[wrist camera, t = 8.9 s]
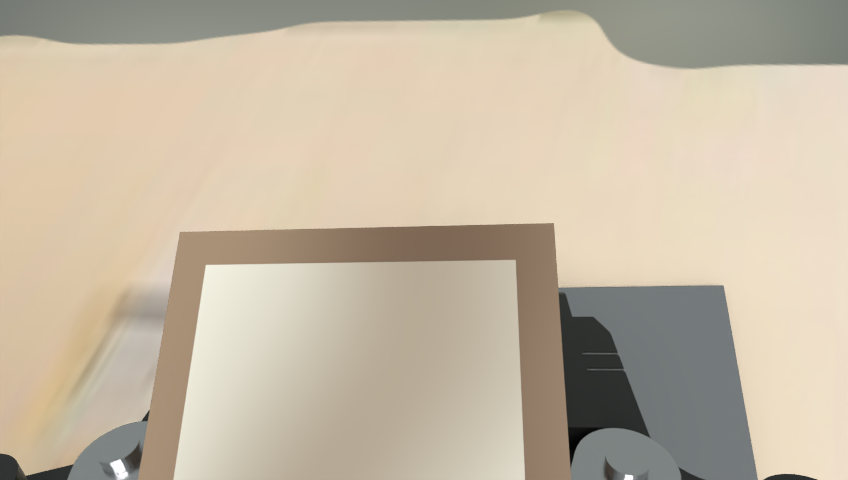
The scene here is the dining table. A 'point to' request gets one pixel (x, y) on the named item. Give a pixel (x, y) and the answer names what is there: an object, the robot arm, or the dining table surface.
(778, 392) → the dining table surface
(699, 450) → the rubber mat
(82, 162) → the dining table surface
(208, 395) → the walnut box
